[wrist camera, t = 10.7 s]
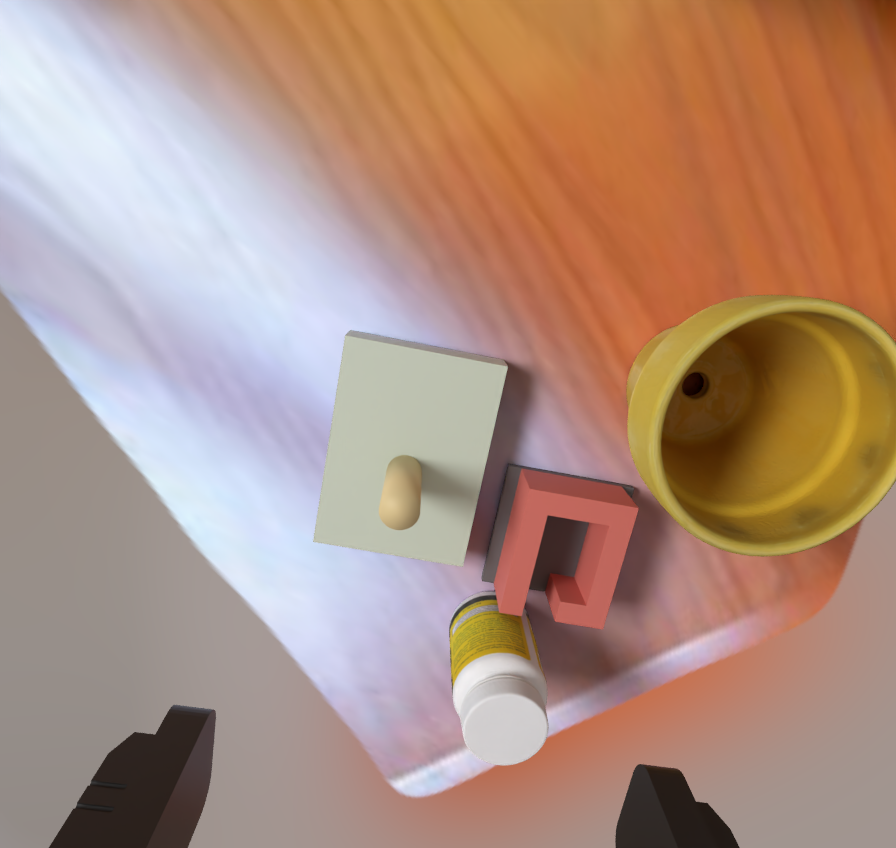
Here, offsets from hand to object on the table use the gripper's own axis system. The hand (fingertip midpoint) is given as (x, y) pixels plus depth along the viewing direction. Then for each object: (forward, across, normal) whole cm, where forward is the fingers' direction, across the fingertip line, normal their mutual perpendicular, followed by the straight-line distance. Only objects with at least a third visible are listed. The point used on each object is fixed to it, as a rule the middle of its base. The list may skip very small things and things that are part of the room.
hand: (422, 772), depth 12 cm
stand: (+23, +1, +1) cm, 23 cm away
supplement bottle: (+23, -5, +11) cm, 26 cm away
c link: (+22, -8, +5) cm, 24 cm away
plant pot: (+23, -13, -4) cm, 27 cm away
